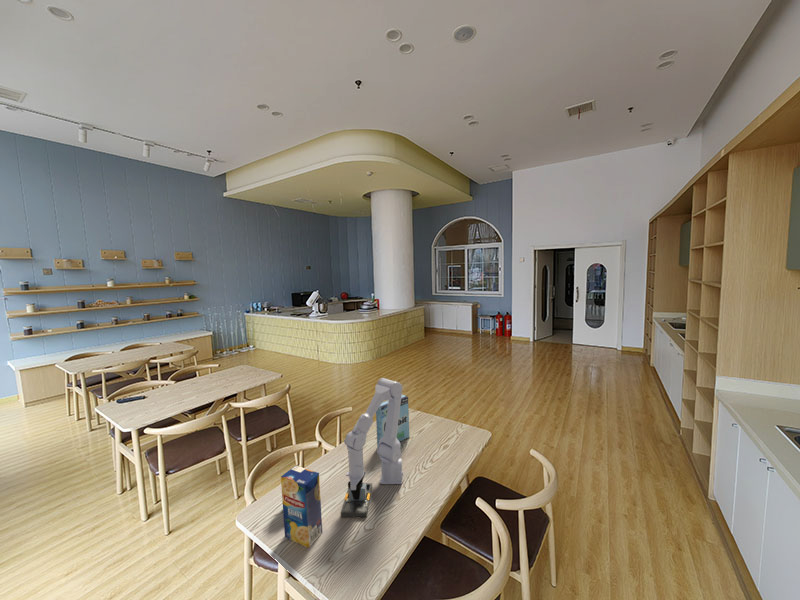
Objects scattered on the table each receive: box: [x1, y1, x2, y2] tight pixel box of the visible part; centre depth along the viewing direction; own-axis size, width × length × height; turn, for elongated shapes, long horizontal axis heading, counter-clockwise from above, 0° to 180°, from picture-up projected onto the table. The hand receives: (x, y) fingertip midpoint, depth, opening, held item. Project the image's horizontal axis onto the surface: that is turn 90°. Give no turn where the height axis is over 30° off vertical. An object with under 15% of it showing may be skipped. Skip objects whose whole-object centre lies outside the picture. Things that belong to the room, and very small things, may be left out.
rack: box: [340, 482, 373, 518], centre depth 125 cm, size 10×16×2 cm, turn 178°
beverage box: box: [280, 465, 323, 549], centre depth 109 cm, size 7×11×22 cm, turn 63°
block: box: [349, 484, 367, 501], centre depth 125 cm, size 6×3×6 cm, turn 88°
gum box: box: [375, 394, 410, 448], centre depth 167 cm, size 20×5×23 cm, turn 133°
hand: (357, 495), depth 125 cm, fingers open, 4 cm apart
